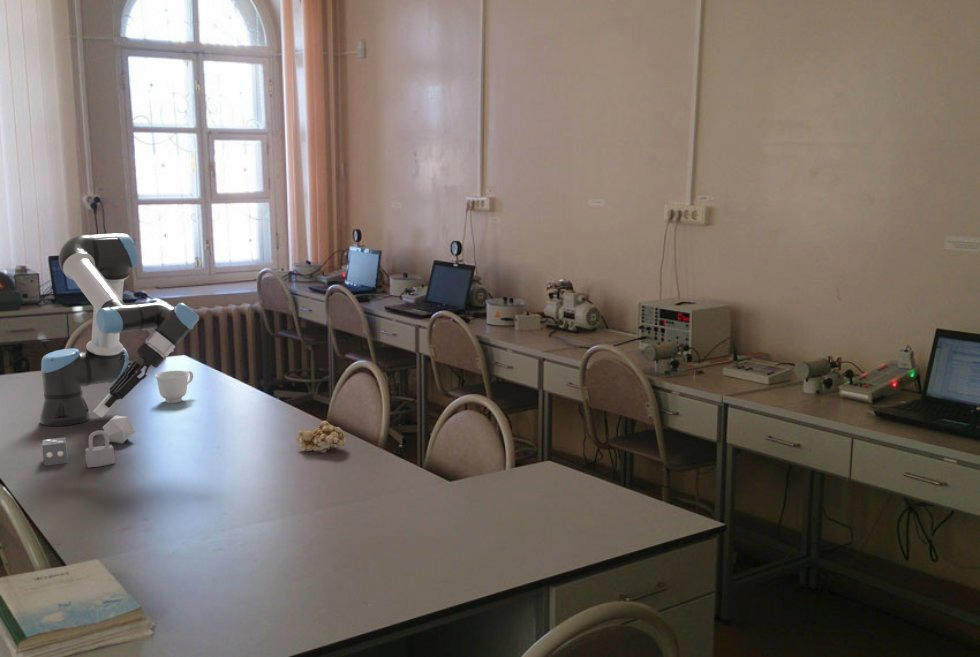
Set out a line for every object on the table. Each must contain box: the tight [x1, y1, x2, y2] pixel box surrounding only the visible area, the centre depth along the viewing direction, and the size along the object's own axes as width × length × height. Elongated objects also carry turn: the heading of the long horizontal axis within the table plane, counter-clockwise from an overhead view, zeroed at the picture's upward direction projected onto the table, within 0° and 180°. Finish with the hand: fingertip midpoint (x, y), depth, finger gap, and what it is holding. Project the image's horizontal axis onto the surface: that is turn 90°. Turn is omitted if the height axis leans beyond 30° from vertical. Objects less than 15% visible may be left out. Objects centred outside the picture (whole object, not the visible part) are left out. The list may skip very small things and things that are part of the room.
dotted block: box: [41, 437, 68, 467], centre depth 261 cm, size 6×6×6 cm
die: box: [102, 415, 136, 444], centre depth 280 cm, size 8×9×10 cm
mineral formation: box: [296, 420, 347, 454], centre depth 271 cm, size 8×13×15 cm
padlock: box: [84, 430, 116, 469], centre depth 258 cm, size 7×4×10 cm, turn 122°
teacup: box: [154, 370, 194, 404], centre depth 330 cm, size 12×15×10 cm
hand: (97, 414), depth 256 cm, fingers closed
